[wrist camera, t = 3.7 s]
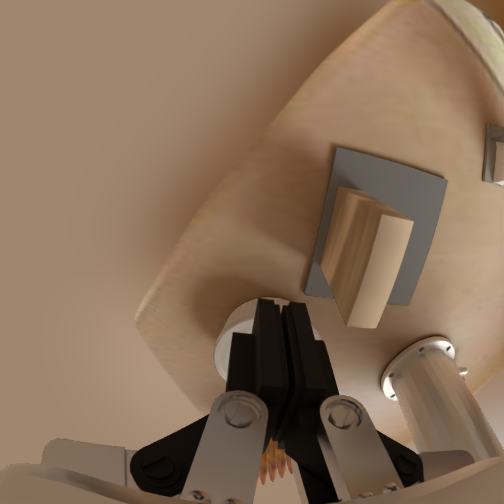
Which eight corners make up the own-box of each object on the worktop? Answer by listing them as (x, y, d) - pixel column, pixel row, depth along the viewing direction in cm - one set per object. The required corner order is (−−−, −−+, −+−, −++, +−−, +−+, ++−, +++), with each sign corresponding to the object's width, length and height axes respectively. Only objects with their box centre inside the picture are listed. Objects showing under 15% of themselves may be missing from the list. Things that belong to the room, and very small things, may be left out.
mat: (444, 179, 24) (447, 180, 24) (406, 303, 30) (408, 305, 29) (335, 146, 24) (337, 146, 23) (303, 292, 30) (304, 295, 29)
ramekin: (250, 375, 35) (248, 406, 30) (199, 314, 31) (189, 344, 26) (330, 341, 32) (339, 372, 27) (289, 269, 29) (295, 296, 24)
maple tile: (362, 191, 25) (413, 221, 16) (342, 268, 28) (376, 328, 18) (338, 185, 25) (381, 214, 15) (319, 265, 28) (346, 326, 18)
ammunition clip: (295, 391, 36) (302, 465, 25) (304, 395, 36) (314, 467, 25) (248, 423, 39) (245, 488, 28) (257, 427, 39) (256, 490, 28)
